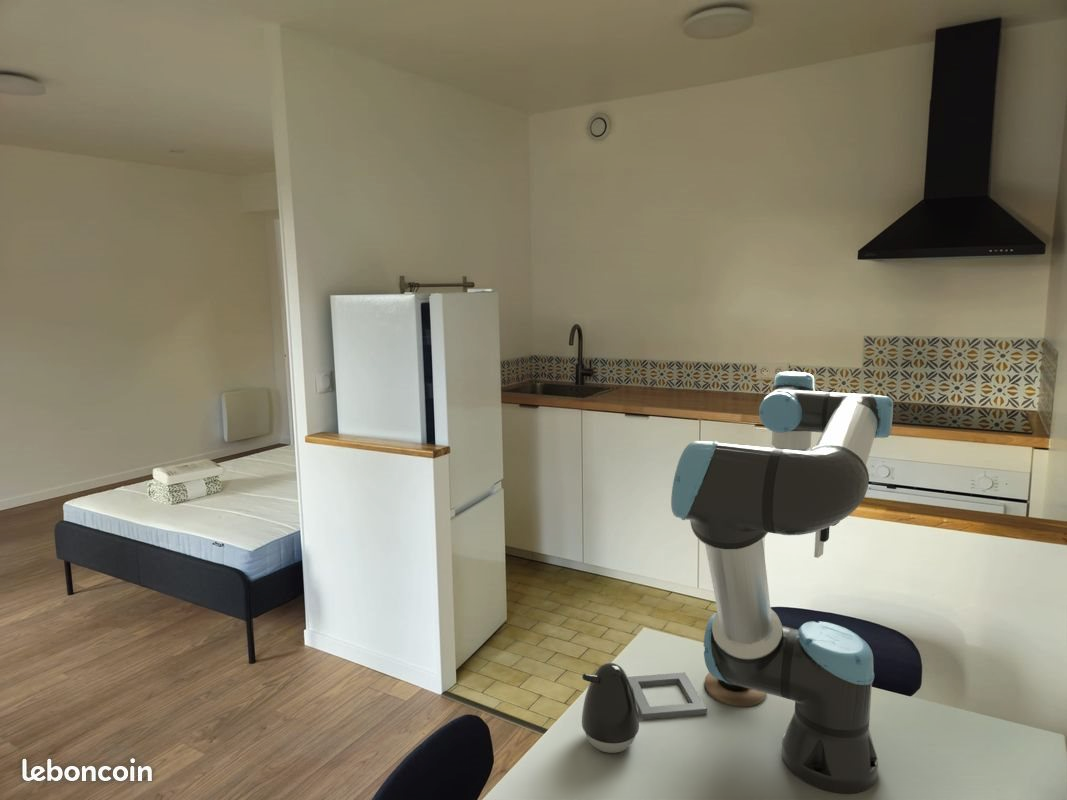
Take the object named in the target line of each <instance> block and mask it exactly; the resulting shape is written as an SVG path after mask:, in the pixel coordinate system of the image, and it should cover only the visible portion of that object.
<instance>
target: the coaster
mask: <svg viewBox="0 0 1067 800" xmlns="http://www.w3.org/2000/svg"><path fill="white" fill-rule="evenodd" d="M704 689H705V691H706V692H707V694H708V695H709V696H710V697H712V698H713V699H714V700H717V701H719V702H721V703H723V704H726V705H729V706H733V707H740V708H741V707H743V708H744V707H752V706H756V705H759V704H761V703H762V702H764V700H765V698H766V696H767V693H764V692H760V691H756V690H753V689H748V690H746V691H743V692H734V691H730V690H727V689H725V688H723V687H722V686H721V685H720V684H719V683H718V681H717V678H715V677H713V676H712V675H711V674H710V673H709V672H708V673H706V676H705V677H704Z"/></svg>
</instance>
